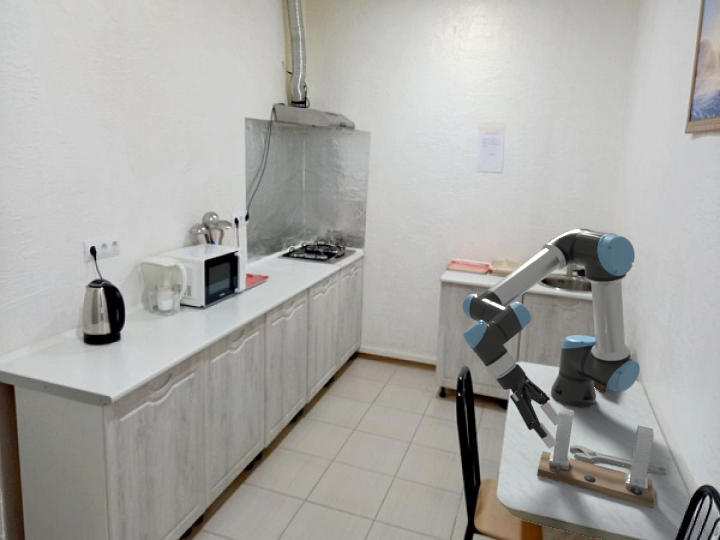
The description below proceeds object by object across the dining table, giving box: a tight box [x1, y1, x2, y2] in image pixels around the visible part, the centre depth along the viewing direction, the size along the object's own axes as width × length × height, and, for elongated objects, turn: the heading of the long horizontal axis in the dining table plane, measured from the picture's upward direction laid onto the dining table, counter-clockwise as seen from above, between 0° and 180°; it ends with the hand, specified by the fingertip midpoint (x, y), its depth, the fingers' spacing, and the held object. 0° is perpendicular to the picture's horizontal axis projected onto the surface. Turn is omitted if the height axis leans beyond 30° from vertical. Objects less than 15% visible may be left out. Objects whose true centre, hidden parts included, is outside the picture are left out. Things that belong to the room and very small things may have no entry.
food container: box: [593, 381, 608, 393], centre depth 201 cm, size 12×6×10 cm, turn 149°
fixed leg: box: [625, 424, 655, 493], centre depth 136 cm, size 7×5×16 cm
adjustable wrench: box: [569, 444, 667, 475], centre depth 151 cm, size 25×6×2 cm, turn 65°
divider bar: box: [536, 450, 655, 509], centre depth 143 cm, size 10×28×2 cm, turn 64°
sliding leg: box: [549, 407, 575, 471], centre depth 144 cm, size 7×5×16 cm
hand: (556, 434), depth 144 cm, fingers open, 13 cm apart
